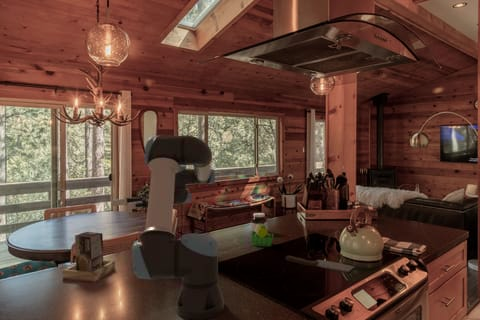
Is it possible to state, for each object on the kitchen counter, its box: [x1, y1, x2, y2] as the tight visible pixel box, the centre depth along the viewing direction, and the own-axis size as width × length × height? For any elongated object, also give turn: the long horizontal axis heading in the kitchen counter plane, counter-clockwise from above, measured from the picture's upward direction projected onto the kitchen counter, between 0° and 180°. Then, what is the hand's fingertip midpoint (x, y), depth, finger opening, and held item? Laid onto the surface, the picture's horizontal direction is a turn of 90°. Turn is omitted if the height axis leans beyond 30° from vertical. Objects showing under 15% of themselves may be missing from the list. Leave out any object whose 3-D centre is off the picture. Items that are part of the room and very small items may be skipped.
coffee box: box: [74, 231, 104, 272], centre depth 137 cm, size 9×6×16 cm
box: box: [62, 259, 116, 283], centre depth 137 cm, size 14×14×4 cm
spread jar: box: [250, 212, 269, 234], centre depth 197 cm, size 12×11×12 cm
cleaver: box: [285, 255, 355, 273], centre depth 146 cm, size 29×10×2 cm, turn 61°
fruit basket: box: [250, 225, 274, 247], centre depth 175 cm, size 11×9×11 cm
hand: (120, 204), depth 144 cm, fingers open, 13 cm apart
